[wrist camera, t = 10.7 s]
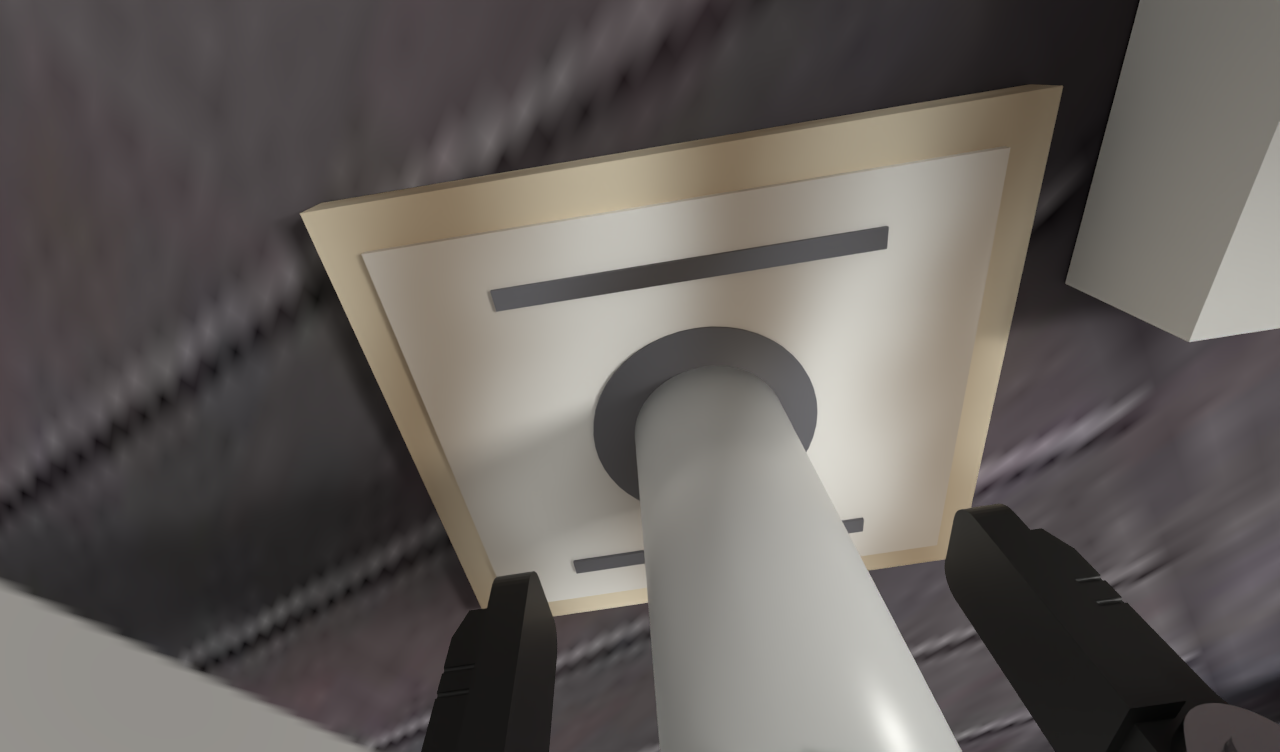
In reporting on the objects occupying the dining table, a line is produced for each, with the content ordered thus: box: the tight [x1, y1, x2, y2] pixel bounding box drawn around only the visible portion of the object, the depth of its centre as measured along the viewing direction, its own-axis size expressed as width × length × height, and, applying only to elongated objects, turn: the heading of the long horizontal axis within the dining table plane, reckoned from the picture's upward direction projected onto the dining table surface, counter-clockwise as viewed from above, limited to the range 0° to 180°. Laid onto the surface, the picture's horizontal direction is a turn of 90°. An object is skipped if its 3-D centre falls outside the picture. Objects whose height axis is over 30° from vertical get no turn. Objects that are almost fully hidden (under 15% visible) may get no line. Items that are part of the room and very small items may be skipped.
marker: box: [635, 366, 962, 752], centre depth 9 cm, size 4×4×12 cm
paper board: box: [300, 84, 1063, 616], centre depth 15 cm, size 16×14×1 cm
